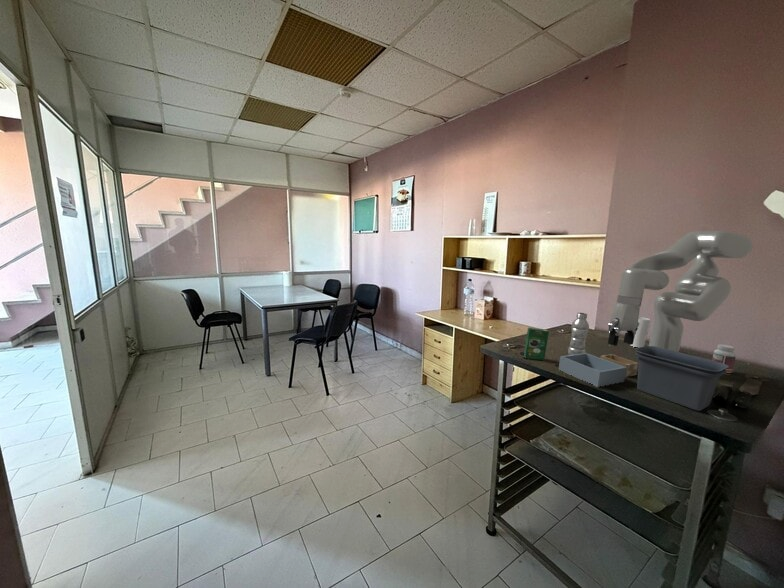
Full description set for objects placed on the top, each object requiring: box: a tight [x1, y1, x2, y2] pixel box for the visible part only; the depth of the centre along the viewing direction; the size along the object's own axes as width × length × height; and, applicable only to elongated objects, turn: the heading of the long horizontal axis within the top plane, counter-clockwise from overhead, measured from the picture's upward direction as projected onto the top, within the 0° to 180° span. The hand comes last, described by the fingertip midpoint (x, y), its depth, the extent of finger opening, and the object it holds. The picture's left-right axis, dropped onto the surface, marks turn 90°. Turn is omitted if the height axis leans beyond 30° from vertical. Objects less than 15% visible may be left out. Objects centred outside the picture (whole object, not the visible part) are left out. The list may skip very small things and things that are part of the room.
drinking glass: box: [629, 316, 652, 348], centre depth 156 cm, size 7×7×15 cm
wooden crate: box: [599, 353, 638, 378], centre depth 124 cm, size 7×10×5 cm
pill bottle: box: [711, 343, 737, 373], centre depth 128 cm, size 6×6×11 cm
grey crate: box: [558, 352, 627, 388], centre depth 118 cm, size 15×16×6 cm
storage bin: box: [634, 345, 729, 412], centre depth 103 cm, size 21×16×14 cm
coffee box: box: [523, 327, 549, 361], centre depth 133 cm, size 8×3×13 cm, turn 80°
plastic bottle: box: [567, 312, 590, 355], centre depth 135 cm, size 6×7×20 cm
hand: (620, 344), depth 123 cm, fingers open, 9 cm apart
